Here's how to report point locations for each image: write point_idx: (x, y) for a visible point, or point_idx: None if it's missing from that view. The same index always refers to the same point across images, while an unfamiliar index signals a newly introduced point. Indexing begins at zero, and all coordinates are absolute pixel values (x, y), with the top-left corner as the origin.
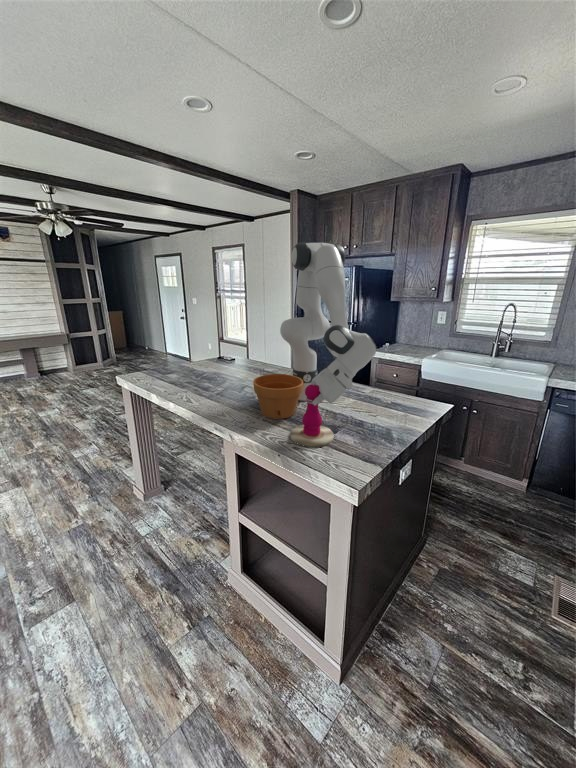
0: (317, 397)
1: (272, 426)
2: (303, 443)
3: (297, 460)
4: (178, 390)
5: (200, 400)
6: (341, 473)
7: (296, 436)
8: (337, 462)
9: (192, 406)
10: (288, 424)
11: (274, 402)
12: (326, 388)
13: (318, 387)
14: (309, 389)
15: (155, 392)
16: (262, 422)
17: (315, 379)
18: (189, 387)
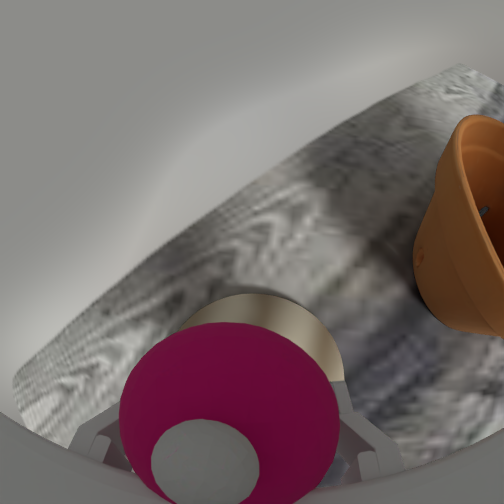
0: (104, 418)
1: (355, 240)
2: (178, 330)
3: (107, 292)
4: (480, 90)
5: (462, 106)
6: (42, 383)
7: (236, 314)
8: (79, 400)
9: (431, 90)
10: (371, 301)
11: (434, 213)
12: (4, 485)
13: (160, 492)
14: (146, 360)
15: (457, 66)
16: (384, 211)
17: (489, 470)
18: (498, 106)
